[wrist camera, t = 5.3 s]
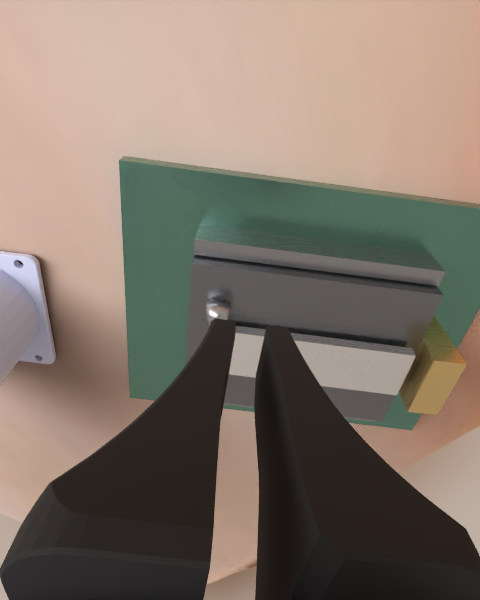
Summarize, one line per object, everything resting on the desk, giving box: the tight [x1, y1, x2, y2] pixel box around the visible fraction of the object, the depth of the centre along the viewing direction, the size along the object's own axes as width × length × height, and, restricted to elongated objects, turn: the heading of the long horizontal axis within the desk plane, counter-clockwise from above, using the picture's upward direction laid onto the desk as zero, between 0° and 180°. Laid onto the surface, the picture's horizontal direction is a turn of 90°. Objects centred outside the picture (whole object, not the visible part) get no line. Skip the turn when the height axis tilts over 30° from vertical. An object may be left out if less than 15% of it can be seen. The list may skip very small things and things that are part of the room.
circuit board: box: [119, 156, 480, 430], centre depth 21 cm, size 20×16×5 cm
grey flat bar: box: [229, 326, 416, 395], centre depth 20 cm, size 10×3×1 cm, turn 83°
